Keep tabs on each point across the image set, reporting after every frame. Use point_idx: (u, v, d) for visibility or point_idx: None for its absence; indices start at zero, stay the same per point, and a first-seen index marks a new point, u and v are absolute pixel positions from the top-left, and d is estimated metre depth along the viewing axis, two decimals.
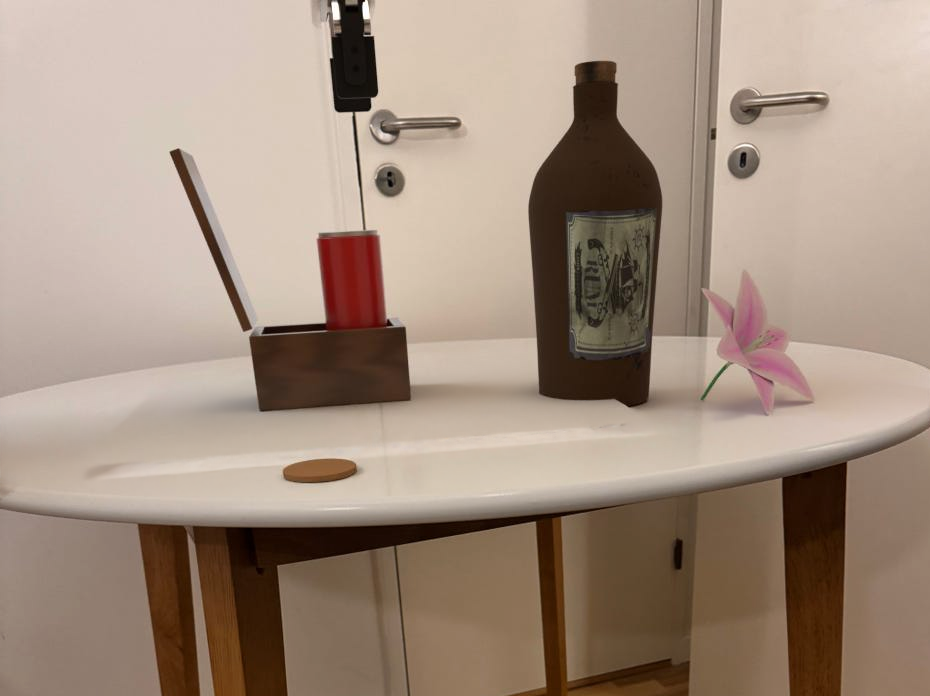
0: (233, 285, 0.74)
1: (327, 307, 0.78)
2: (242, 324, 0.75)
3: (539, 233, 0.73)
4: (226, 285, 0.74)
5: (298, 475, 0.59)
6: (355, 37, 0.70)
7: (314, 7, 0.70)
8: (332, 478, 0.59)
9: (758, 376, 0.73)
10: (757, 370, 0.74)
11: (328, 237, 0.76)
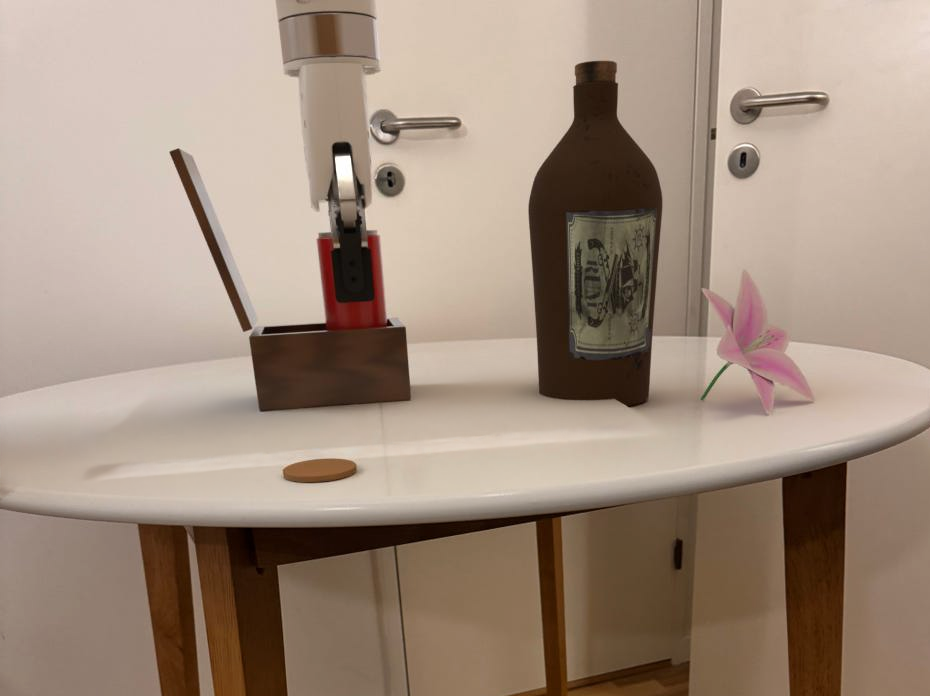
0: (233, 285, 0.74)
1: (327, 307, 0.78)
2: (242, 324, 0.75)
3: (539, 233, 0.73)
4: (226, 285, 0.74)
5: (298, 475, 0.59)
6: (353, 252, 0.74)
7: (313, 207, 0.73)
8: (332, 478, 0.59)
9: (758, 376, 0.73)
10: (757, 370, 0.74)
11: (328, 237, 0.76)
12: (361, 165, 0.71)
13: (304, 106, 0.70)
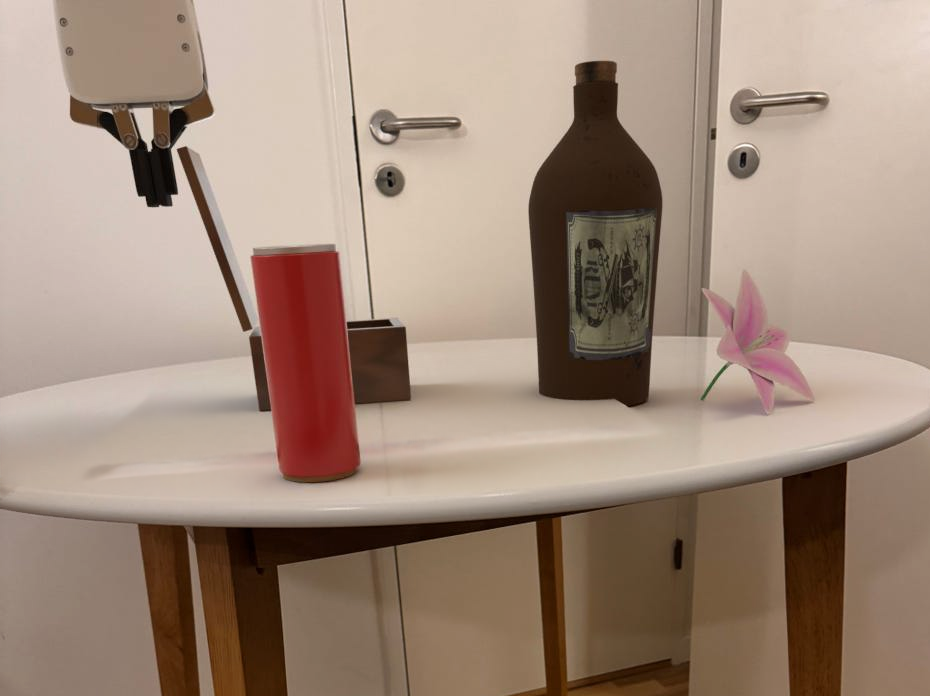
0: (235, 285, 0.74)
1: (267, 350, 0.57)
2: (242, 324, 0.75)
3: (539, 233, 0.73)
4: (228, 284, 0.74)
5: None
6: None
7: None
8: (332, 478, 0.59)
9: (758, 376, 0.73)
10: (757, 370, 0.74)
11: (265, 255, 0.54)
12: None
13: None
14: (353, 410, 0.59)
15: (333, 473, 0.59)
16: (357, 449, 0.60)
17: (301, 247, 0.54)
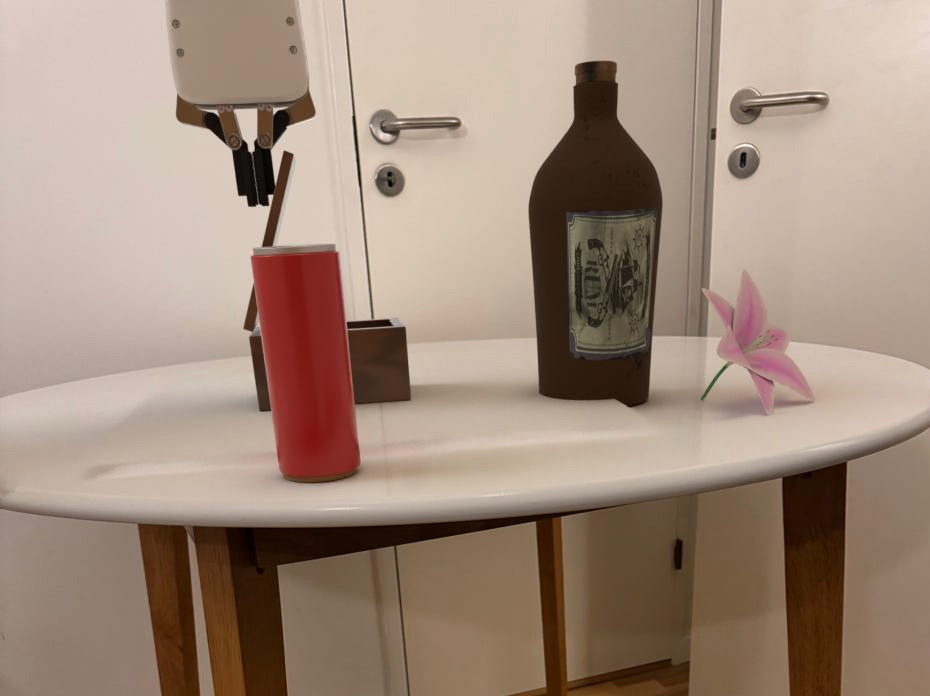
0: None
1: (267, 350, 0.57)
2: (246, 322, 0.75)
3: (539, 233, 0.73)
4: None
5: None
6: None
7: None
8: (332, 478, 0.59)
9: (758, 376, 0.73)
10: (757, 370, 0.74)
11: (265, 255, 0.54)
12: None
13: None
14: (353, 410, 0.59)
15: (333, 473, 0.59)
16: (357, 449, 0.60)
17: (301, 247, 0.54)
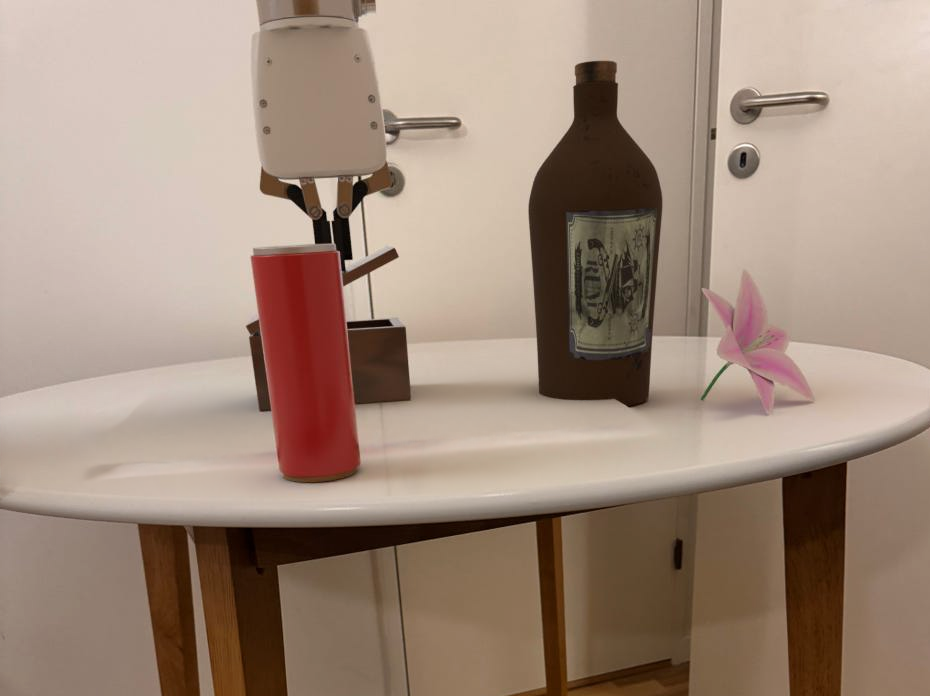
0: None
1: (267, 350, 0.57)
2: (252, 324, 0.75)
3: (539, 233, 0.73)
4: None
5: None
6: None
7: (281, 177, 0.77)
8: (332, 478, 0.59)
9: (758, 376, 0.73)
10: (757, 370, 0.74)
11: (265, 255, 0.54)
12: (256, 136, 0.73)
13: None
14: (353, 410, 0.59)
15: (333, 473, 0.59)
16: (357, 449, 0.60)
17: (301, 247, 0.54)
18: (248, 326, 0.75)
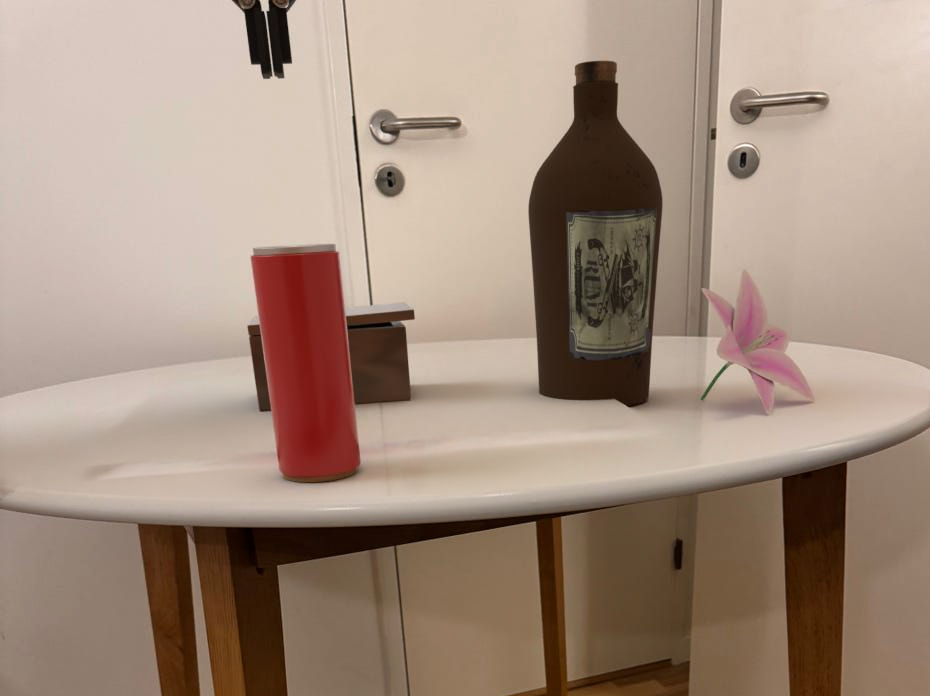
0: None
1: (267, 350, 0.57)
2: (254, 327, 0.75)
3: (539, 233, 0.73)
4: None
5: None
6: None
7: None
8: (332, 478, 0.59)
9: (758, 376, 0.73)
10: (757, 370, 0.74)
11: (265, 255, 0.54)
12: None
13: None
14: (353, 410, 0.59)
15: (333, 473, 0.59)
16: (357, 449, 0.60)
17: (301, 247, 0.54)
18: (249, 327, 0.75)
